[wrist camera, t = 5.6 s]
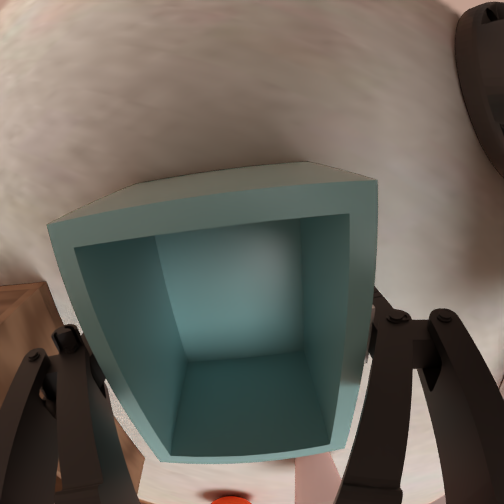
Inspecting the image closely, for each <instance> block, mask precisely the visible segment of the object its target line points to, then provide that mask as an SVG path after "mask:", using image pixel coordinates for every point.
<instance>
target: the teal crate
mask: <svg viewBox="0 0 504 504" xmlns="http://www.w3.org/2000/svg"><path fill="white" fill-rule="evenodd" d="M377 226H378V182H377V180H376V179H372V178H369V177H366V176H362V175H359V174H355V173H352V172H348V171H344V170H340V169H337V168H333V167H329V166H325V165H321V164H317V163H313V162H308V161H305V162H291V163H279V164H268V165H258V166H248V167H240V168H231V169H223V170H216V171H209V172H202V173H195V174H188V175H182V176H176V177H170V178H164V179H159V180H153V181H148V182H143V183H138V184H134V185H132V186H129V187H127V188H124V189H122V190H120V191H117V192H115V193H112V194H110V195H108V196H106V197H103V198H101V199H99V200H97V201H94V202H92V203H90V204H88V205H86V206H83V207H81V208H79V209H77V210H75V211H73V212H71V213H69V214H67V215H65V216H63V217H61V218H59V219H57V220H55V221H53V222H51V223H49V224H47V228H48V232H49V236H50V240H51V243H52V247H53V250H54V254H55V257H56V260H57V264H58V267H59V270H60V273H61V276H62V279H63V282H64V285H65V287H66V290H67V293H68V296H69V298H70V301H71V304H72V306H73V309H74V311H75V314H76V316H77V318H78V321H79V323H80V326H81V328H82V330H83V332H84V335H85V337H86V339H87V341H88V343H89V346H90V348H91V350H92V352H93V354H94V356H95V358H96V360H97V362H98V364H99V366H100V368H101V370H102V372H103V373H104V375H105V377H106V379H107V381H108V383H109V384H110V386H111V388H112V390H113V392H114V393H115V395H116V397H117V398H118V400H119V402H120V403H121V405H122V407H123V408H124V410H125V412H126V413H127V415H128V416H129V418H130V419H131V421H132V423H133V424H134V426H135V427H136V429H137V430H138V432H139V433H140V434H141V436H142V437H143V439H144V440H145V442H146V443H147V444H148V446H149V447H150V449H151V450H152V451H153V453H154V454H155V455H156V457H157V458H158V459H159V461H160V462H169V463H187V464H232V463H250V462H263V461H273V460H282V459H289V458H296V457H303V456H309V455H315V454H320V453H325V452H330V451H335V450H339V449H343V448H345V445H346V441H347V438H348V434H349V430H350V426H351V422H352V418H353V414H354V410H355V406H356V401H357V397H358V392H359V387H360V382H361V377H362V372H363V366H364V361H365V355H366V348H367V342H368V335H369V328H370V320H371V312H372V303H373V293H374V282H375V269H376V252H377Z"/></svg>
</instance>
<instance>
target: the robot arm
mask: <svg viewBox="0 0 504 504" xmlns="http://www.w3.org/2000/svg"><path fill="white" fill-rule="evenodd" d="M455 51H456V61H457V68H458V74H459V79H460V84H461V88H462V92H463V96H464V100H465V103H466V106H467V109H468V113H469V116H470V118H471V121H472V124H473V127H474V129H475V132H476V134H477V136H478V139H479V141H480V143H481V145H482V147H483V149H484V151H485V153H486V155H487V156H488V158H489V160H490V161H491V163H492V164H493V166H494V167H495V169H496V170H497V171H498V172H499V173H500V174H501V176H502V177H504V3H503V2H488V3H484V4H481V5H478V6H476V7H473V8H471V9H469V10H467V11H466V12H464V14H463V15H462V16H461V18H460V20H459V22H458V25H457V30H456V38H455ZM51 338H52V340H53V342H54V344H55V346H56V348H57V350H58V352H59V354H58V355H53V356H48V355H47V353H46V351H45V349H43V348H36V349H32V350H30V351H29V352H28V353H27V354H26V355H25V356H24V358H23V360H22V362H21V364H20V366H19V368H18V370H17V372H16V374H15V376H14V378H13V381H12V383H11V385H10V387H9V390H8V392H7V394H6V396H5V399H4V401H3V404H2V406H1V408H0V504H140V502H139V499H138V496H137V494H136V491H135V488H134V486H133V483H132V480H131V477H130V474H129V471H128V468H127V465H126V461H125V458H124V455H123V451H122V448H121V444H120V441H119V437H118V433H117V429H116V425H115V421H114V417H113V412H112V408H111V403H110V398H109V393H108V388H107V386H106V384H105V383H104V381H105V379H106V377H105V375H104V373H103V372H102V370H101V368H100V366H99V364H98V362H97V360H96V358H95V356H94V354H93V352H92V350H91V348H90V346H89V343H88V341H87V339H86V337H85V335H84V332H83V334H82V335H80V333H79V331H78V329H77V326H76V325H74V324H67V325H64V326H61V327H59V328H58V329H56V330H55V331H54V332H53V333H52V335H51ZM369 353H370V355H371V357H372V359H373V360H372V365H371V370H370V375H369V381H368V386H367V390H366V395H365V400H364V404H363V408H362V412H361V417H360V421H359V425H358V428H357V432H356V436H355V439H354V443H353V446H352V450H351V453H350V456H349V460H348V463H347V466H346V469H345V472H344V475H343V478H342V481H341V484H340V486H339V489H338V492H337V495H336V497H335V500H334V502H333V504H401V503H402V497H403V492H402V490H401V488H400V482H401V476H402V471H403V465H404V460H405V453H406V446H407V439H408V431H409V421H410V410H411V396H412V372H413V369H417V371H418V374H419V378H420V381H421V384H422V388H423V391H424V395H425V398H426V402H427V406H428V409H429V413H430V417H431V421H432V425H433V430H434V434H435V438H436V443H437V448H438V453H439V458H440V464H441V469H442V475H443V482H444V489H445V496H446V504H504V399H503V397H502V395H501V393H500V391H499V389H498V386H497V384H496V382H495V380H494V378H493V376H492V374H491V372H490V370H489V368H488V367H487V365H486V363H485V361H484V359H483V357H482V355H481V354H480V352H479V350H478V348H477V347H476V345H475V343H474V341H473V340H472V338H471V336H470V335H469V333H468V331H467V330H466V328H465V326H464V325H463V323H462V321H461V320H460V318H459V317H458V315H457V314H456V313H455V312H453V311H451V310H449V309H445V308H443V309H441V308H439V309H435V310H433V311H432V312H431V313H430V316H429V320H412V319H411V316H410V315H409V314H408V313H407V312H404V311H402V310H397V309H393V307H392V306H391V305H390V304H389V303H388V301H387V300H386V299H385V298H384V297H383V295H382V294H381V293H380V292H379V291H378V290H377V288H376V287H375V286H374V293H373V303H372V312H371V320H370V328H369V335H368V342H367V348H366V355H365V361H364V364H365V363H367V361H368V355H369ZM40 390H41V392H42V393H43V395H44V397H43V399H41V397H40V395H39V393H40ZM58 460H59V464H60V472H61V480H62V490H61V491H57V492H55V484H56V475H57V467H58Z"/></svg>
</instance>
